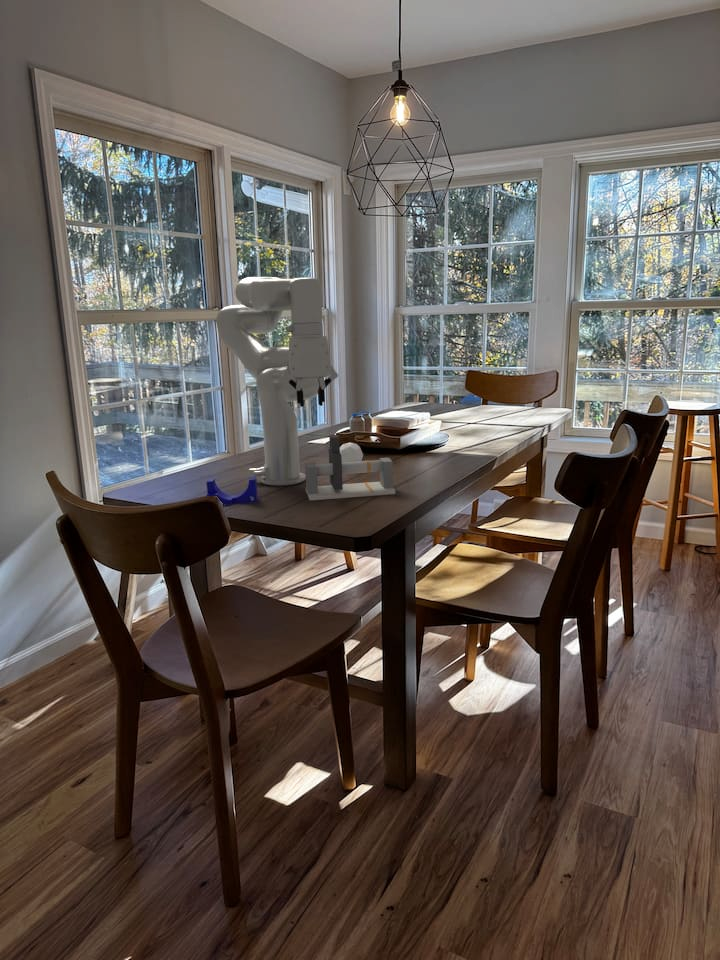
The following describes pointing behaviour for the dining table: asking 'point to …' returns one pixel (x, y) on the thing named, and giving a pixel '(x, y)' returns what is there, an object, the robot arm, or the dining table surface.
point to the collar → (335, 462)
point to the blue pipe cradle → (239, 498)
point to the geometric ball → (351, 453)
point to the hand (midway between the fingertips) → (311, 404)
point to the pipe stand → (350, 489)
